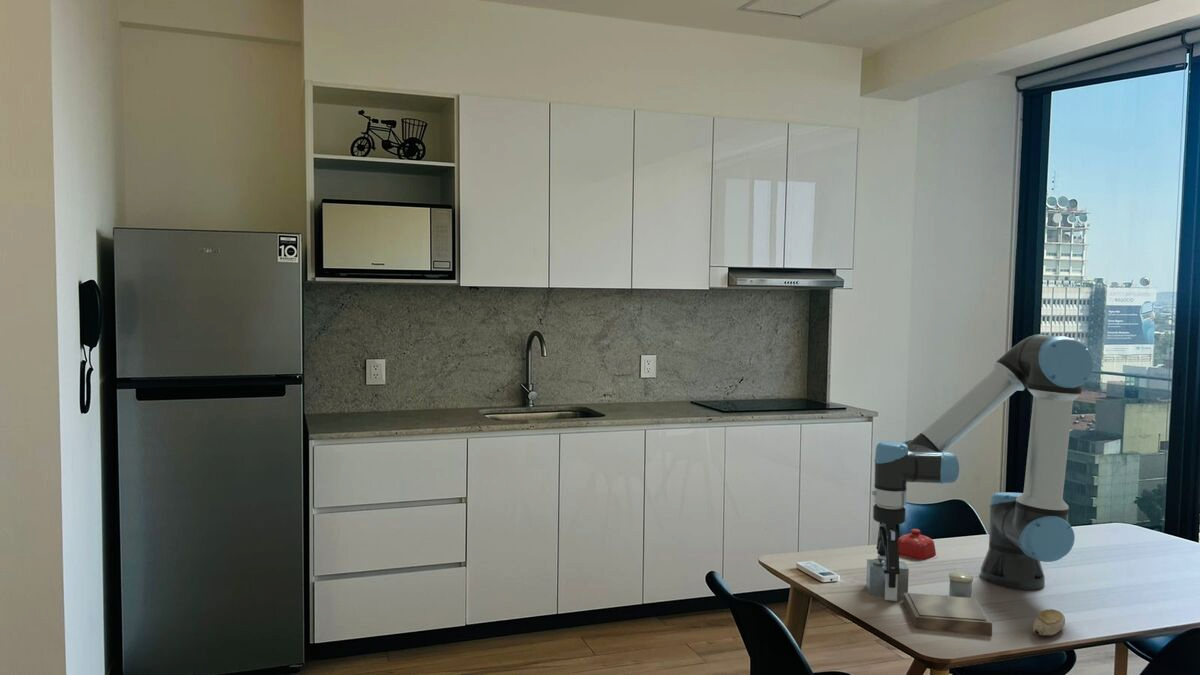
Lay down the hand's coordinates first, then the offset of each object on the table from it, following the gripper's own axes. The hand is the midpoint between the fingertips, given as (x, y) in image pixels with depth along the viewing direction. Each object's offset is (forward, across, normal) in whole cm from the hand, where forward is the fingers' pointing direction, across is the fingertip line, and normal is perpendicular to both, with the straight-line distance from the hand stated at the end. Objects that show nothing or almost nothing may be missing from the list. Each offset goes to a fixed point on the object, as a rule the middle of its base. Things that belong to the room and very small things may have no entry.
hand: (886, 590), depth 217 cm
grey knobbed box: (+1, 0, 0) cm, 1 cm away
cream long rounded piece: (-1, +12, +31) cm, 33 cm away
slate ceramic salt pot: (+1, +1, +17) cm, 17 cm away
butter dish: (+2, -34, +13) cm, 36 cm away
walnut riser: (+1, +14, +11) cm, 18 cm away
